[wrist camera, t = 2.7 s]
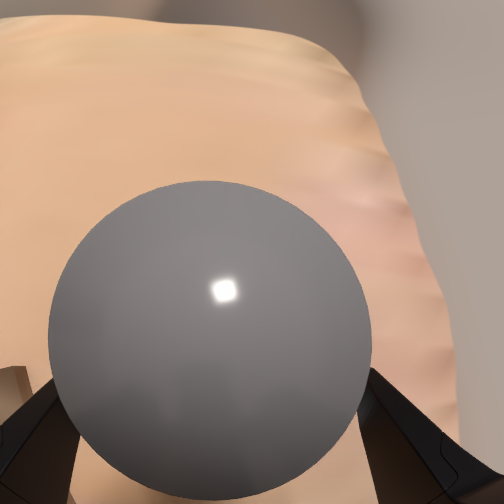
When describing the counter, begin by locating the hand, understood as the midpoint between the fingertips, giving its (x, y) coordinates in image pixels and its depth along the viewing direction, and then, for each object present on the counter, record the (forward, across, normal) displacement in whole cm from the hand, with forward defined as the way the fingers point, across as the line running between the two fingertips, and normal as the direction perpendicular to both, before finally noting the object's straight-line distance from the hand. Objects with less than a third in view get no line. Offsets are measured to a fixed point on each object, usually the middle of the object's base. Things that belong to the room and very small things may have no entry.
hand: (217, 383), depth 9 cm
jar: (+6, 0, +5) cm, 8 cm away
